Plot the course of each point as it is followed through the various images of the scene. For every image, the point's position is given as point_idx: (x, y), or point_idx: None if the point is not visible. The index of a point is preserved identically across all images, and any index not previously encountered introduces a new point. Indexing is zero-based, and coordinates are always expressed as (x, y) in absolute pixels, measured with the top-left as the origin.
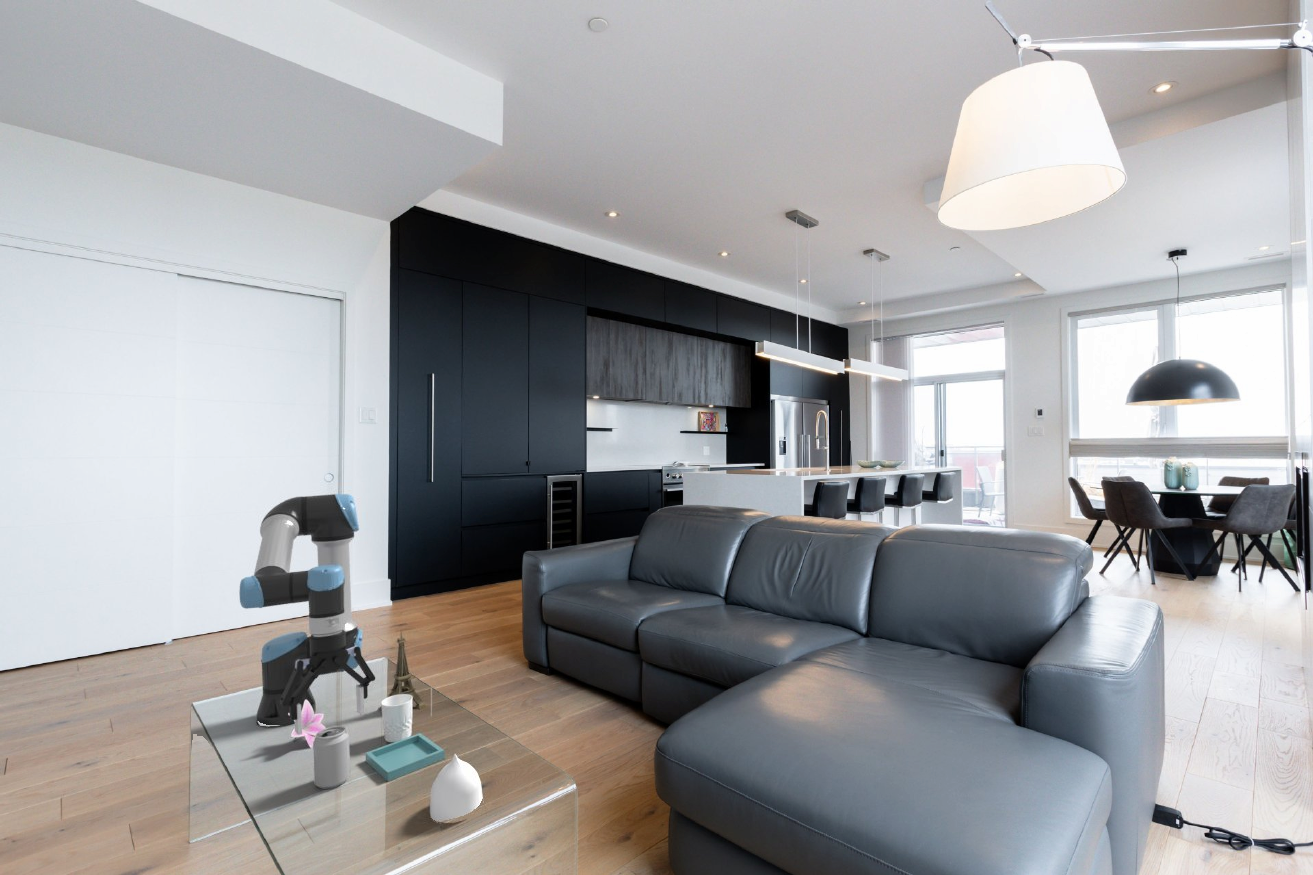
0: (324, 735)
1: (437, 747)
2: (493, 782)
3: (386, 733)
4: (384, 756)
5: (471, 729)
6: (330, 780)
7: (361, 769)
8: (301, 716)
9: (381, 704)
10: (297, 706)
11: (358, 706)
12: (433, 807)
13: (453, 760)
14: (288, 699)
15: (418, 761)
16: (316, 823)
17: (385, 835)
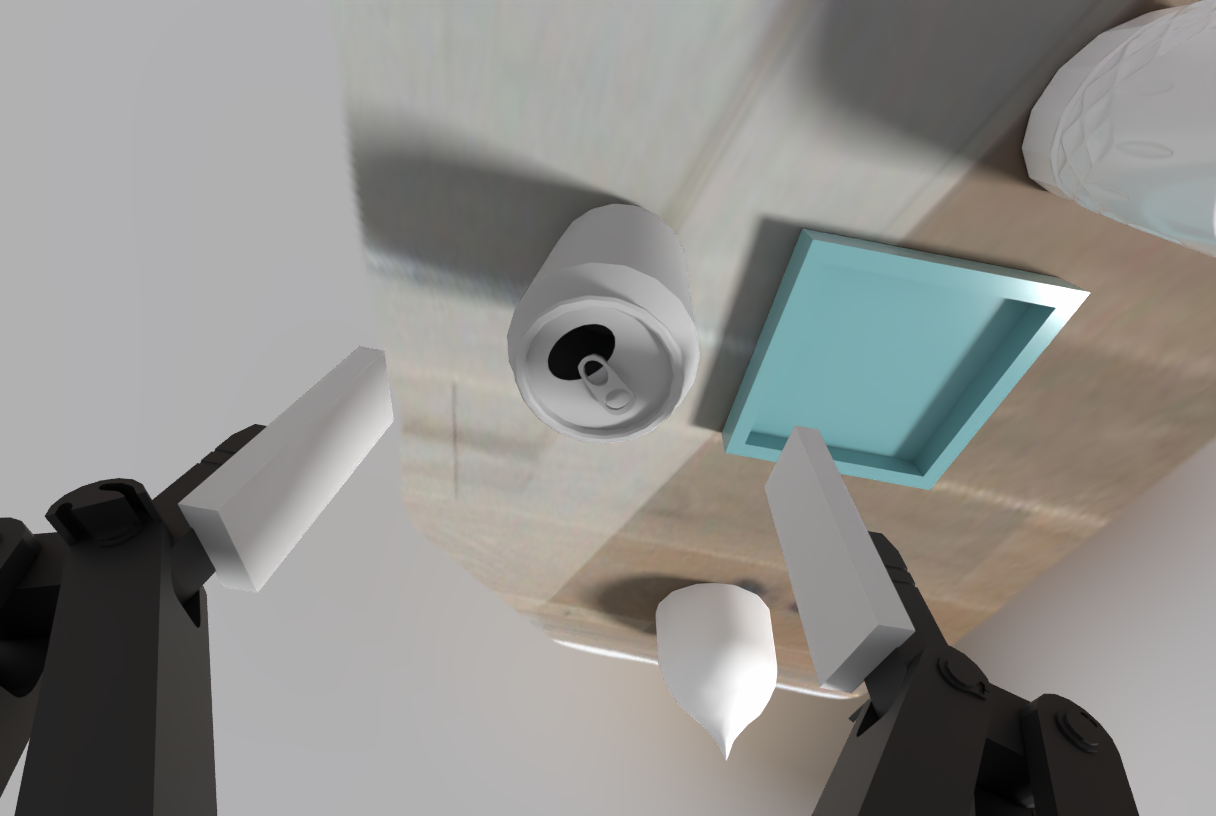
0: (608, 261)
1: (946, 459)
2: None
3: (1063, 118)
4: (853, 289)
5: (1211, 387)
6: (582, 335)
7: (740, 279)
8: (324, 506)
9: None
10: (225, 584)
11: (794, 489)
12: (658, 634)
13: (716, 742)
14: (42, 664)
15: None
16: (484, 443)
17: (570, 578)
